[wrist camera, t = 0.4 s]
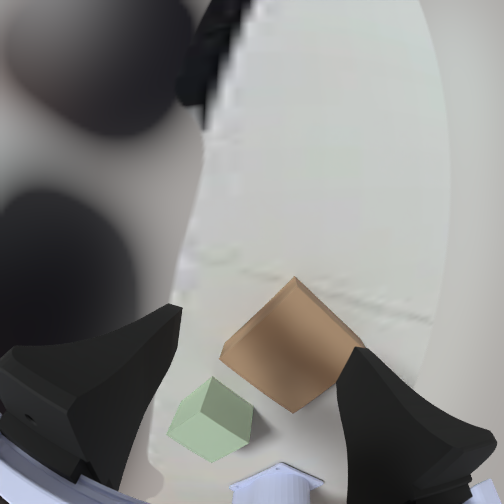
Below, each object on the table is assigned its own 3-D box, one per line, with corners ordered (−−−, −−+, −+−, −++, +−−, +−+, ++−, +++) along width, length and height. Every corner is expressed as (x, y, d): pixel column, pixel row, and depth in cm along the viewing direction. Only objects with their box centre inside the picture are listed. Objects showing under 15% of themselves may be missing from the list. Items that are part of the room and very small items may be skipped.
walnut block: (291, 392, 23) (293, 413, 20) (225, 340, 23) (219, 359, 20) (359, 336, 22) (369, 354, 19) (294, 274, 21) (297, 286, 18)
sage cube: (220, 427, 24) (211, 462, 20) (181, 400, 24) (166, 434, 19) (253, 405, 24) (249, 443, 19) (212, 375, 23) (200, 411, 18)
